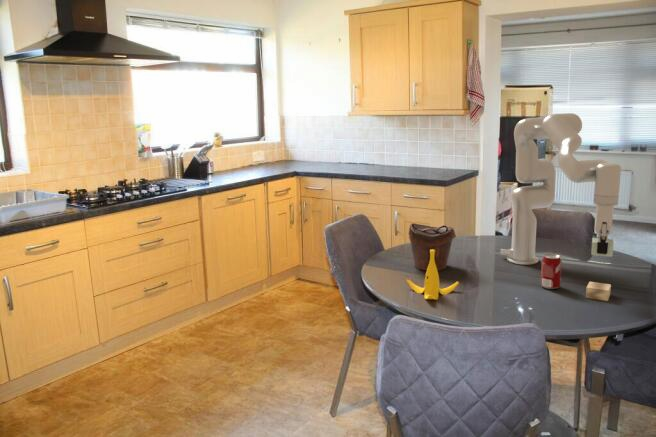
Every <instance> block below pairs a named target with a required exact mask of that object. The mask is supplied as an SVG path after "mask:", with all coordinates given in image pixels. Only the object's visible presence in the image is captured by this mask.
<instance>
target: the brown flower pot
mask: <svg viewBox="0 0 656 437" xmlns="http://www.w3.org/2000/svg"><path fill="white" fill-rule="evenodd" d="M408 228H409V230H408V239H409V241H410V248H411V252H412V258H413V262H414V266H415V268H417V269H419V270H421V271H427V268H428V265H429V263H430V250H435V254H434V261H435V264H436V267H437V271H441V270H444V269H446V268H447V267H448V266H447V265H448V262H449V257H450V252H451V248H452V244H453V239H455V238H456V236H457V235H456V232H455V230H454V228H453V227H451V226H450V227H448V226H447V225H442V226H439V227H437V226H430V225H425V224H418V223H413V222H412V223H410V225H409V227H408Z"/></svg>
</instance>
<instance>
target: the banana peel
mask: <svg viewBox="0 0 656 437" xmlns="http://www.w3.org/2000/svg"><path fill="white" fill-rule="evenodd" d="M434 254H435V250H430V263H429V265H428V268H427V270H426V273H425V274H424V284H423V285H424V286H423V287H421V286H418V285H416V284H415V283H414V282H412V281H411V280H410V279H406V282H407V284H408V286H410V288H411V289H412V290H413V291H414V292H415V293H417V294H423V293H424V295H423V296H424V299H425V300H435V301H437V300H438V299H439V295H440V294H441V295H442V296H444V295H445V296H446V295H449V294H451V292H453V290H455V289H456V287H457V286H458V285H459V284H460V282H459V281H456V282H455V283H453V284H451V285H450V286H447V287H445V288H441V287H440V276H439V272H438V271H439V270H437V267H436V264H435V261H434Z"/></svg>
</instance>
